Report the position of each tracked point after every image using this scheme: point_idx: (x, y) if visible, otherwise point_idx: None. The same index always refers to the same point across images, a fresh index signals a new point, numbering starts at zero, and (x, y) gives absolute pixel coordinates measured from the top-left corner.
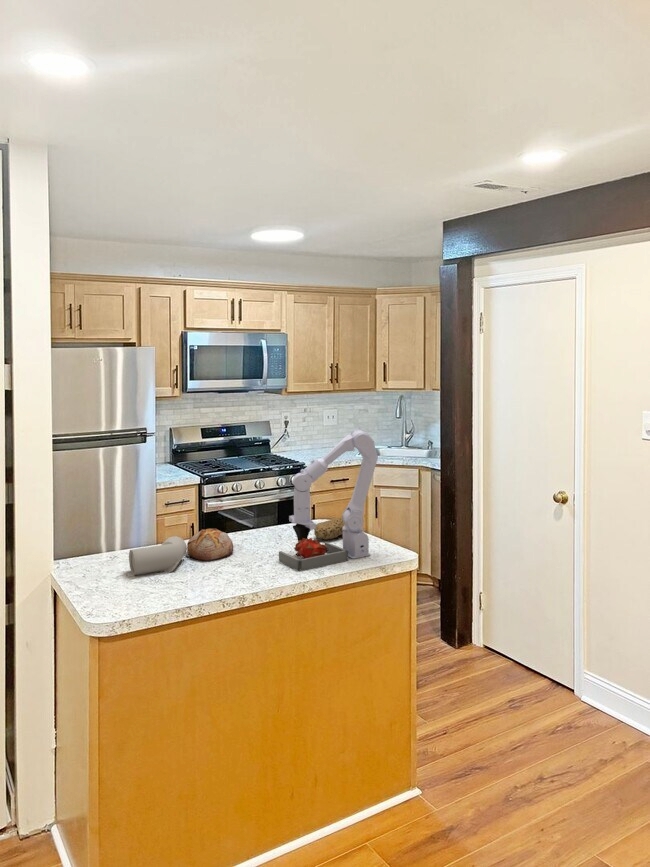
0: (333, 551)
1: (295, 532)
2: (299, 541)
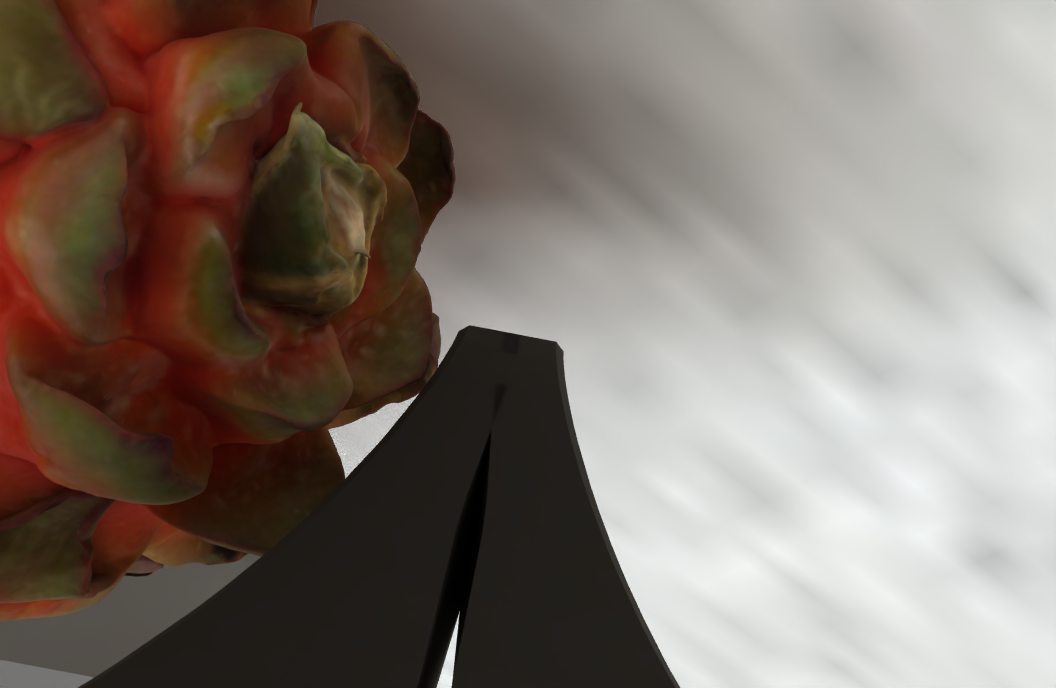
0: (155, 593)
1: (661, 667)
2: (30, 207)
